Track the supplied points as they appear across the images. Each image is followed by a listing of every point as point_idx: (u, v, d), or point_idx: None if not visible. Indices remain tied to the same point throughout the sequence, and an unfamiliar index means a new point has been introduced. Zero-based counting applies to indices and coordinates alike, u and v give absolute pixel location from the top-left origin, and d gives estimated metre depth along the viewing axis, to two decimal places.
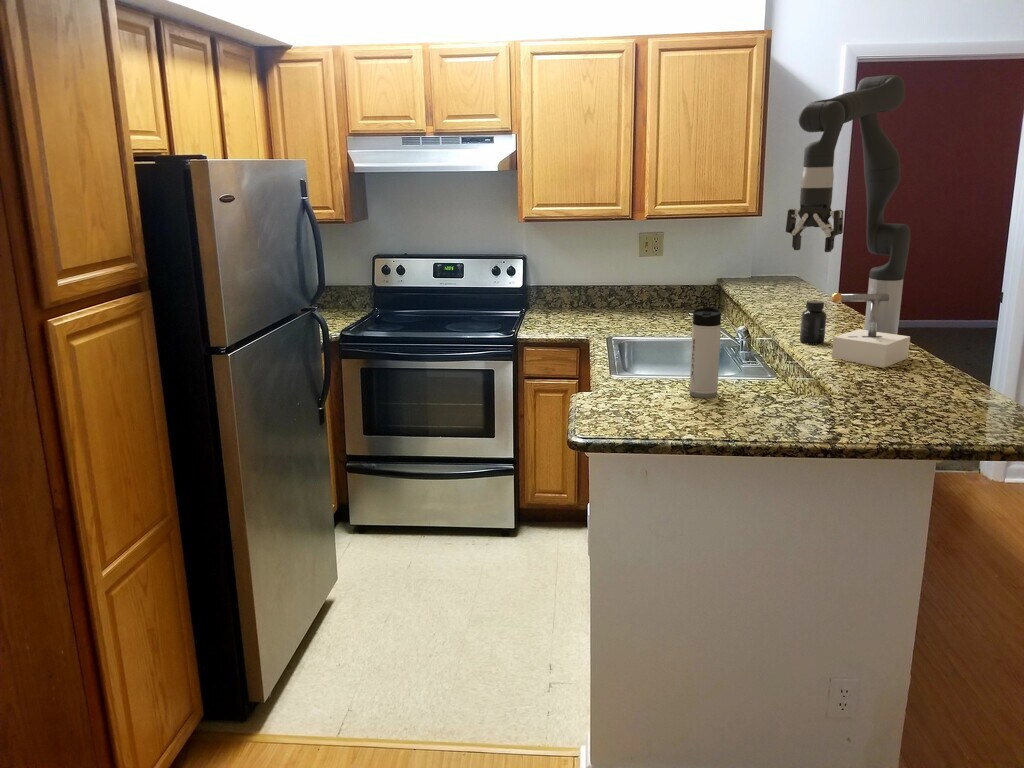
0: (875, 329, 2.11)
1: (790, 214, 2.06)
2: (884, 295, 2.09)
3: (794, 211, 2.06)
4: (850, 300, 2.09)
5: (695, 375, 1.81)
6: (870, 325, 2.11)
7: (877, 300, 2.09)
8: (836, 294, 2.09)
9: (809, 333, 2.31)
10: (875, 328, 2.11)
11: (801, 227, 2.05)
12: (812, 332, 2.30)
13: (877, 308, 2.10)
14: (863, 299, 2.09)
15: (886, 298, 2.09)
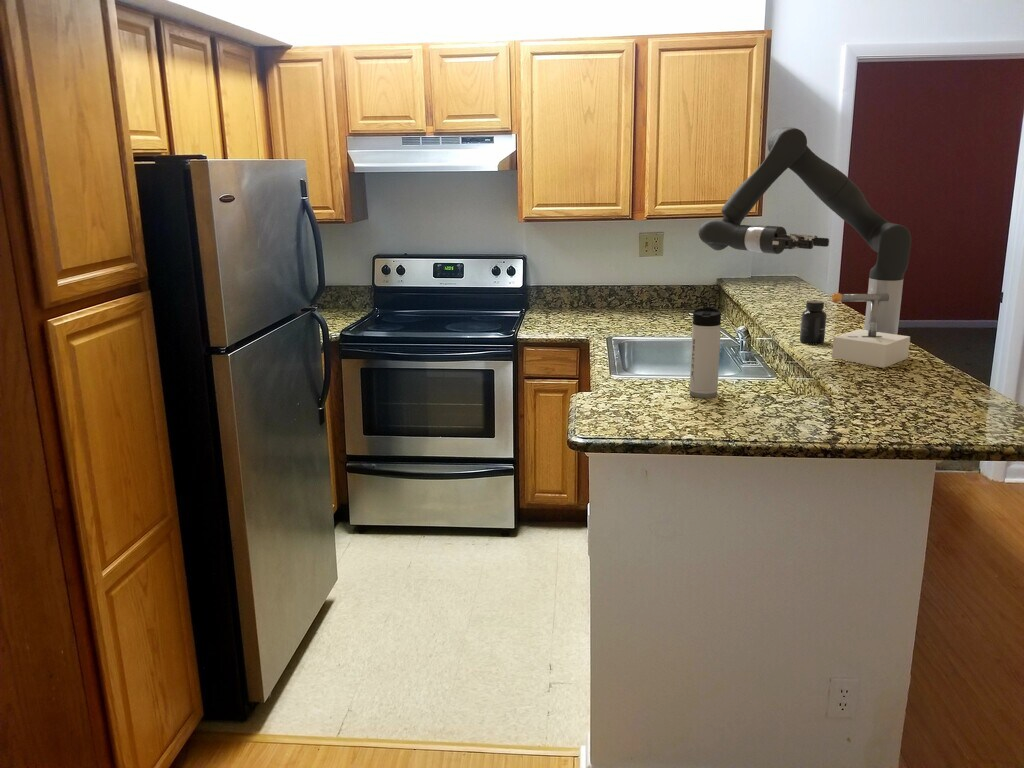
0: (875, 329, 2.11)
1: None
2: (884, 295, 2.09)
3: None
4: (850, 300, 2.09)
5: (695, 375, 1.81)
6: (870, 325, 2.11)
7: (877, 300, 2.09)
8: (836, 294, 2.09)
9: (809, 333, 2.31)
10: (875, 328, 2.11)
11: None
12: (812, 332, 2.30)
13: (877, 308, 2.10)
14: (863, 299, 2.09)
15: (886, 298, 2.09)
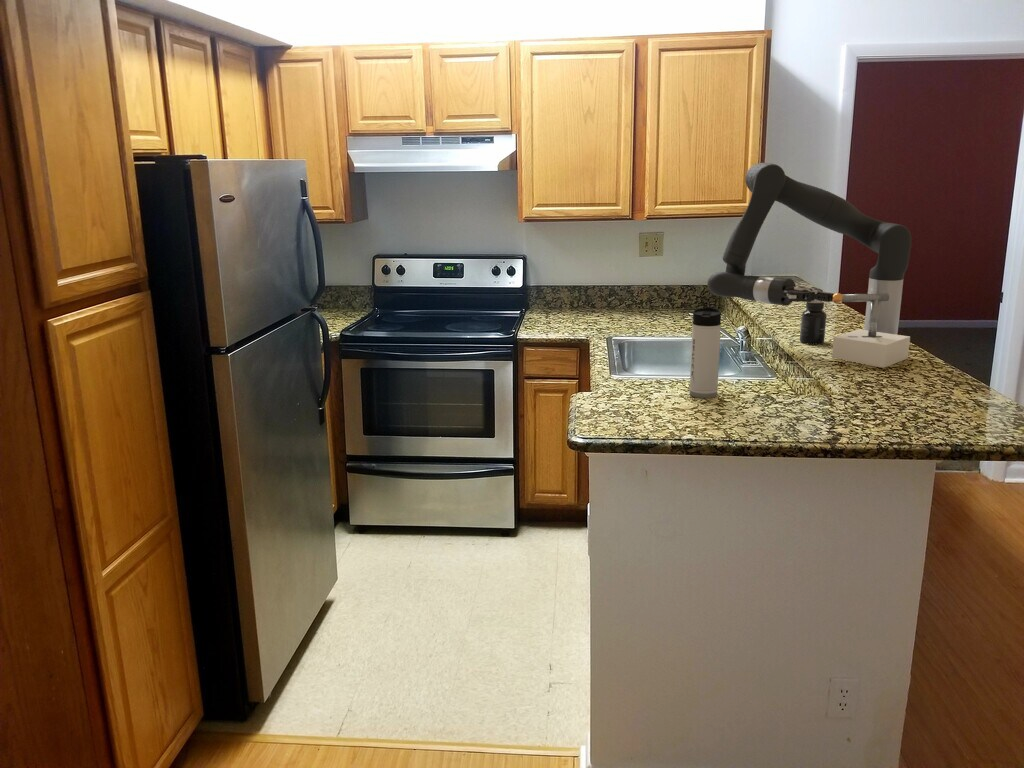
0: (875, 329, 2.11)
1: None
2: (884, 295, 2.09)
3: None
4: (851, 300, 2.09)
5: (695, 375, 1.81)
6: (870, 325, 2.11)
7: (877, 300, 2.09)
8: (837, 294, 2.09)
9: (809, 333, 2.31)
10: (875, 328, 2.11)
11: None
12: (812, 332, 2.30)
13: (877, 308, 2.10)
14: (863, 299, 2.09)
15: (886, 298, 2.09)
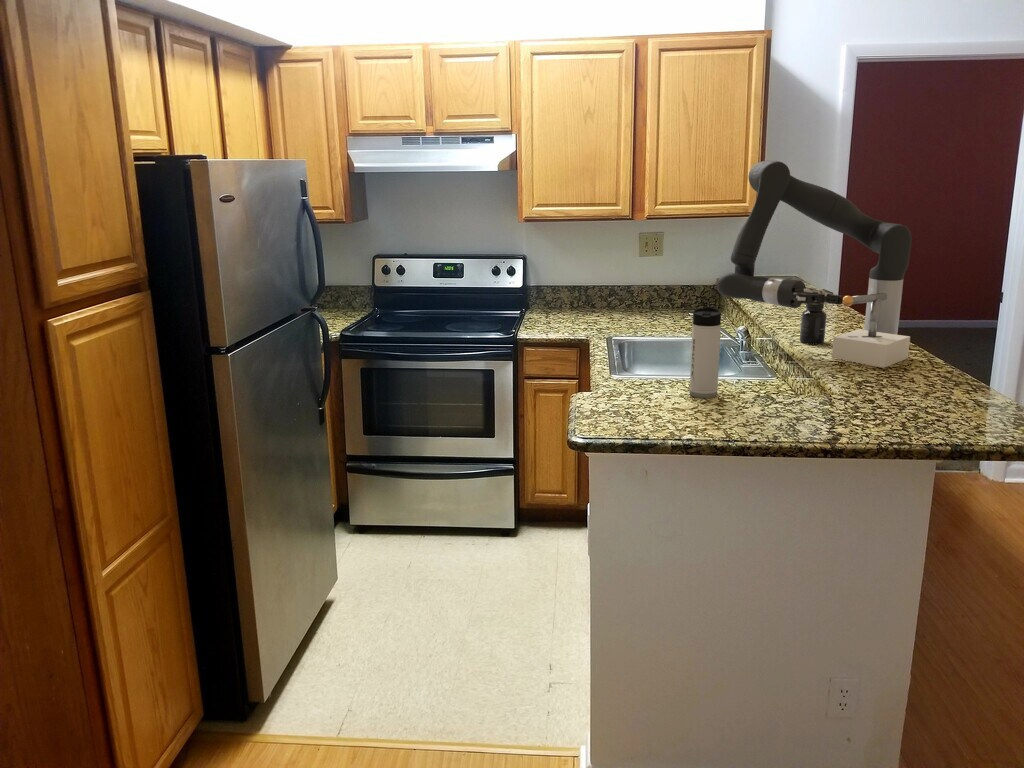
0: (876, 329, 2.11)
1: None
2: (883, 294, 2.10)
3: None
4: (859, 302, 2.06)
5: (695, 375, 1.81)
6: (872, 325, 2.11)
7: (879, 300, 2.09)
8: (849, 297, 2.05)
9: (809, 333, 2.31)
10: (876, 328, 2.11)
11: None
12: (812, 332, 2.30)
13: (878, 308, 2.10)
14: (868, 300, 2.08)
15: (885, 297, 2.10)
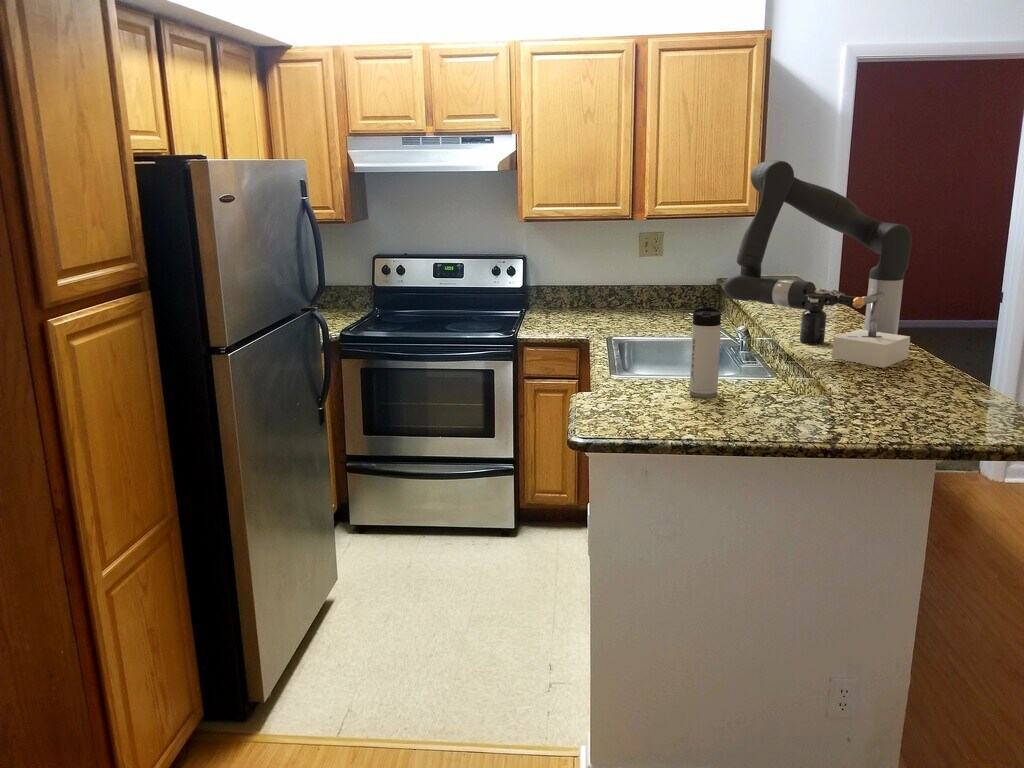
0: (876, 329, 2.12)
1: None
2: (882, 294, 2.10)
3: None
4: (867, 302, 2.05)
5: (695, 375, 1.81)
6: (873, 325, 2.11)
7: (879, 300, 2.09)
8: (860, 298, 2.02)
9: (809, 333, 2.31)
10: (876, 328, 2.12)
11: None
12: (812, 332, 2.30)
13: (878, 308, 2.10)
14: (873, 301, 2.07)
15: (883, 297, 2.11)
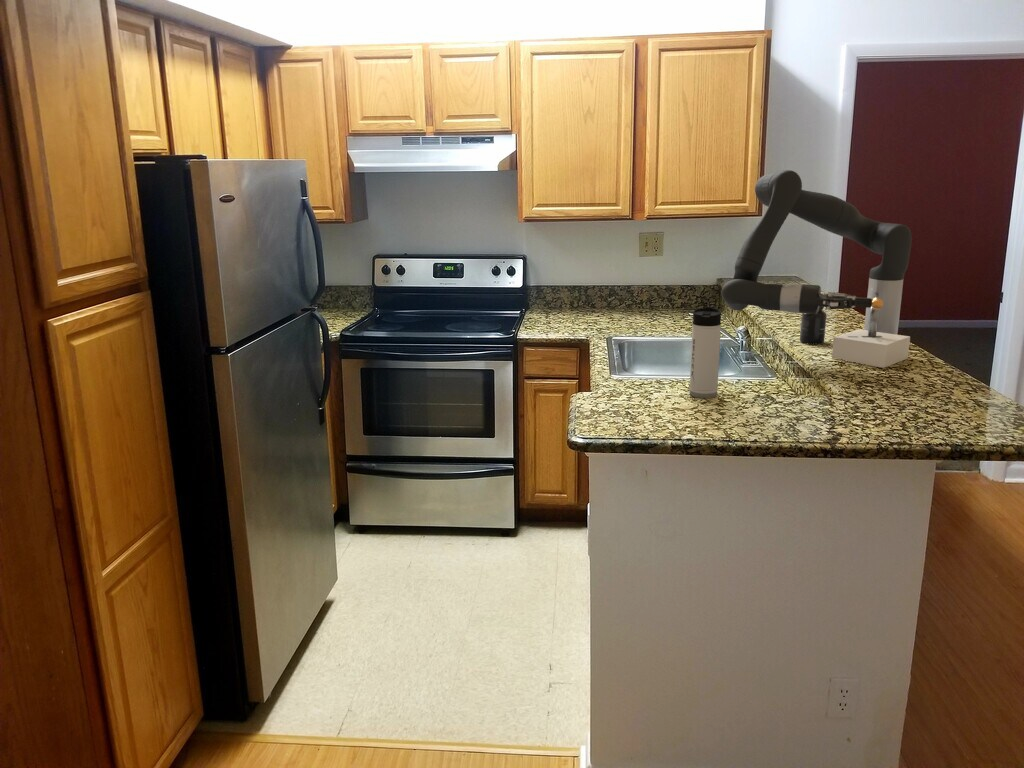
0: None
1: None
2: (878, 294, 2.11)
3: None
4: None
5: (695, 375, 1.81)
6: (875, 325, 2.11)
7: None
8: (880, 300, 2.00)
9: (809, 333, 2.31)
10: None
11: None
12: (812, 332, 2.30)
13: None
14: None
15: None
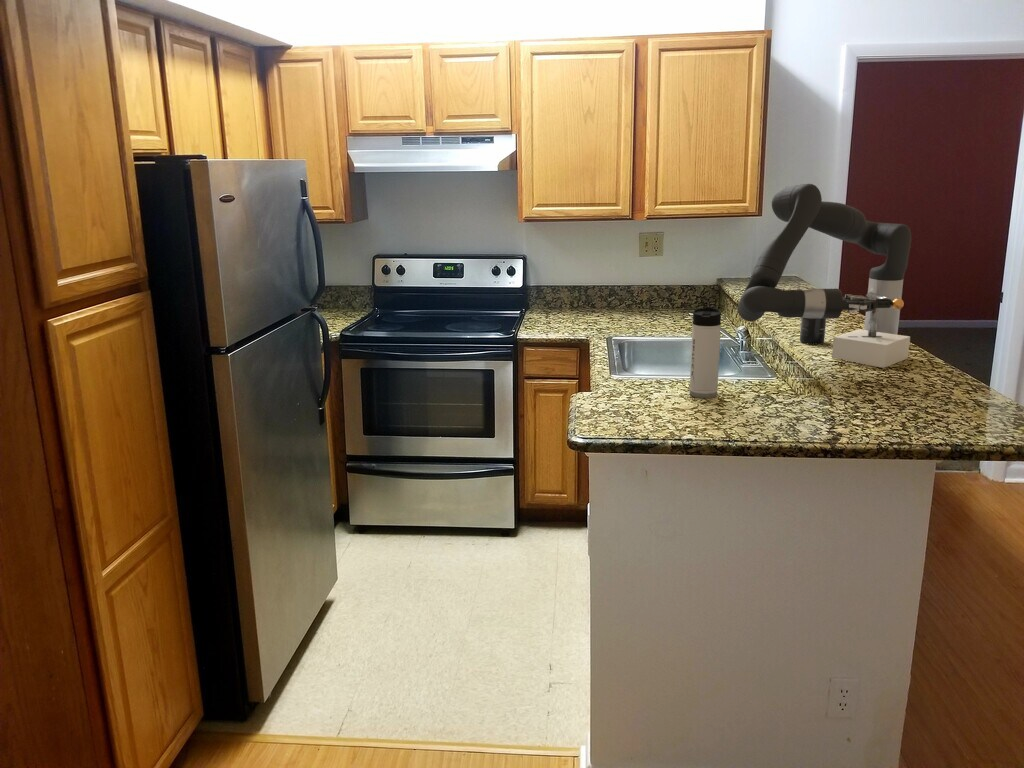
0: None
1: None
2: None
3: None
4: None
5: (695, 375, 1.81)
6: (876, 325, 2.11)
7: None
8: (901, 300, 2.00)
9: (809, 333, 2.31)
10: None
11: None
12: (812, 332, 2.30)
13: None
14: None
15: None
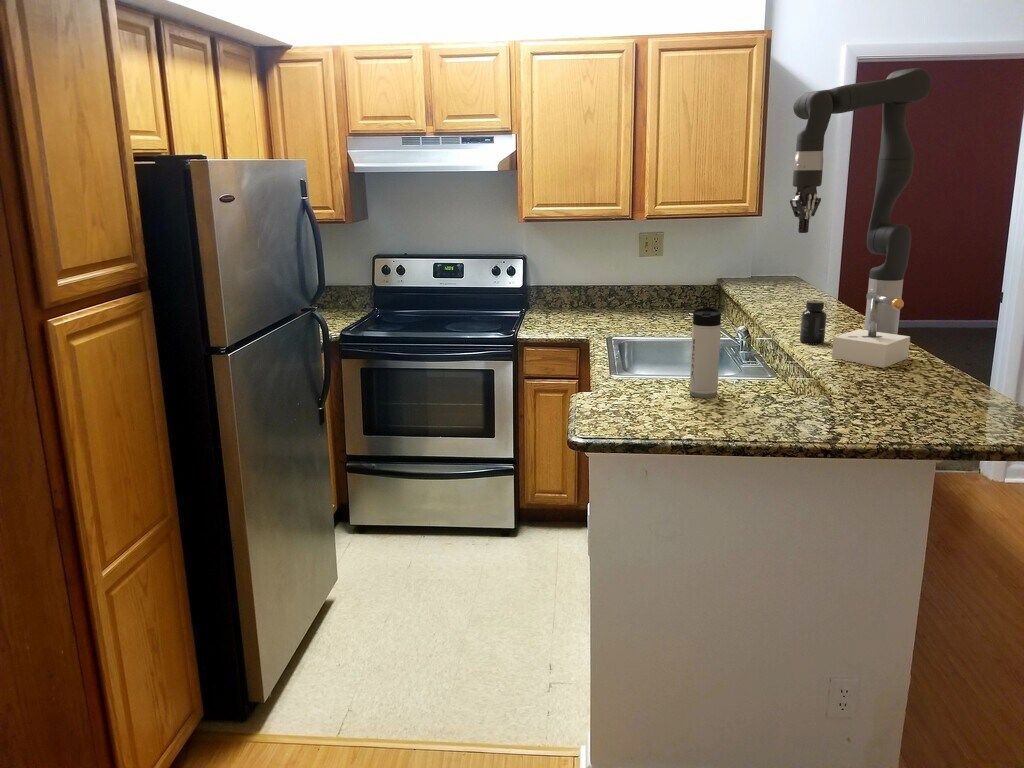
0: None
1: None
2: None
3: None
4: None
5: (695, 375, 1.81)
6: (876, 325, 2.11)
7: None
8: (901, 300, 2.00)
9: (809, 333, 2.31)
10: None
11: (802, 208, 2.23)
12: (812, 332, 2.30)
13: None
14: None
15: None
